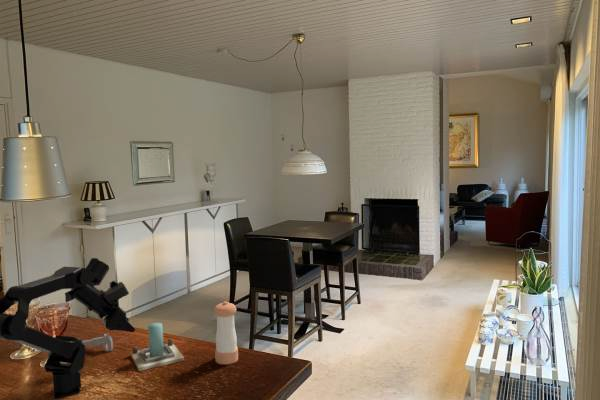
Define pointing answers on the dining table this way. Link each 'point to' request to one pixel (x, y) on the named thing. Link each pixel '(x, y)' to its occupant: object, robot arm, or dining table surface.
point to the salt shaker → (226, 334)
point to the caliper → (101, 342)
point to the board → (147, 362)
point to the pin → (156, 339)
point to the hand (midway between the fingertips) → (131, 325)
